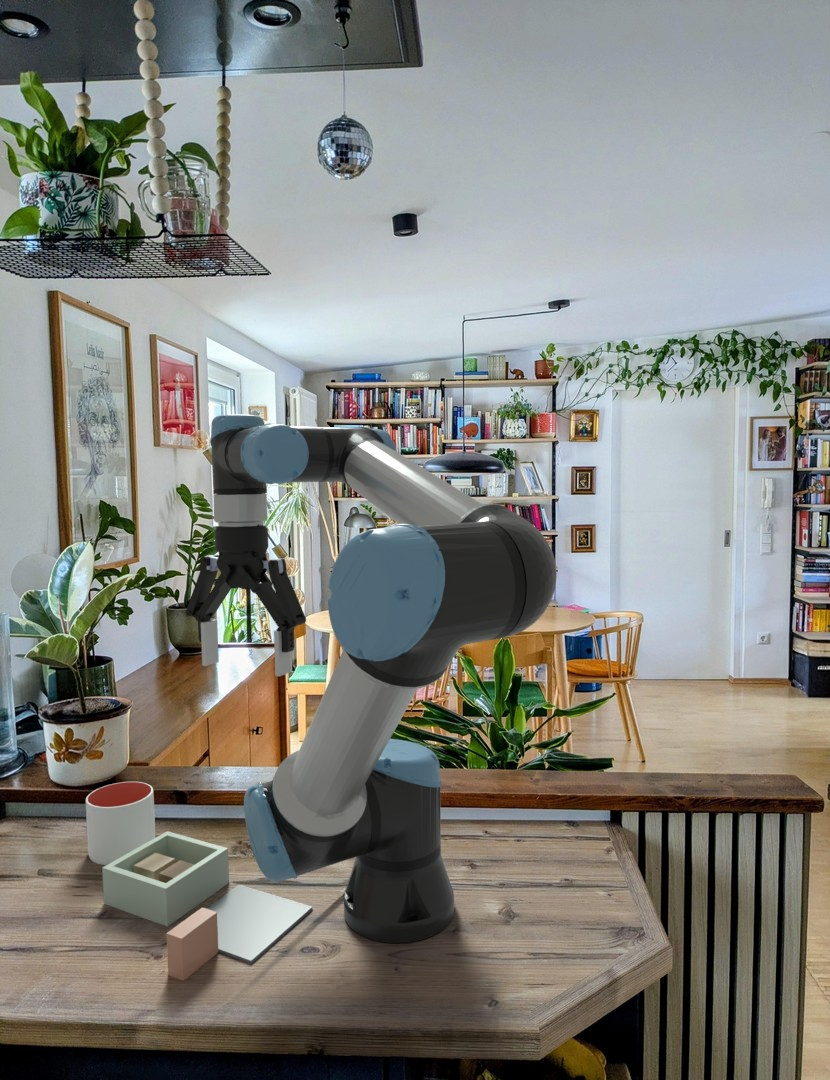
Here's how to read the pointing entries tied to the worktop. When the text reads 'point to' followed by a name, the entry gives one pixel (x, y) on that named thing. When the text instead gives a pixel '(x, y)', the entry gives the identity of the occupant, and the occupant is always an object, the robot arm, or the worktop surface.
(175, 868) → the part
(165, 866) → the part
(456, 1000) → the worktop surface
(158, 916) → the tub
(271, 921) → the lid
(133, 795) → the cup
